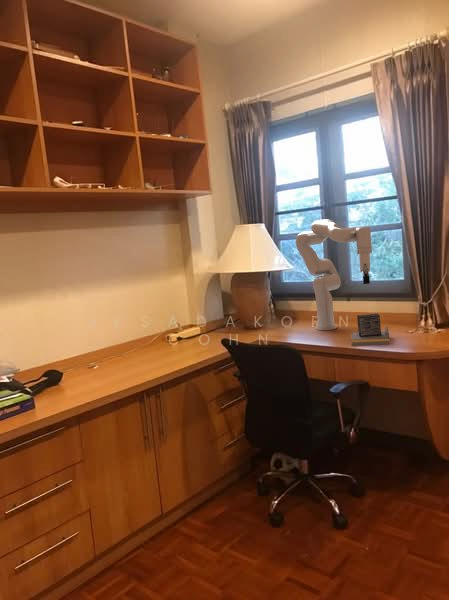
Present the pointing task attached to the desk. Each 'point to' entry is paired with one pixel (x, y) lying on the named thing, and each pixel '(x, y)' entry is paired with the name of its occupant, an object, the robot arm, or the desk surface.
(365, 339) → the dock
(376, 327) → the small box
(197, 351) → the desk surface
